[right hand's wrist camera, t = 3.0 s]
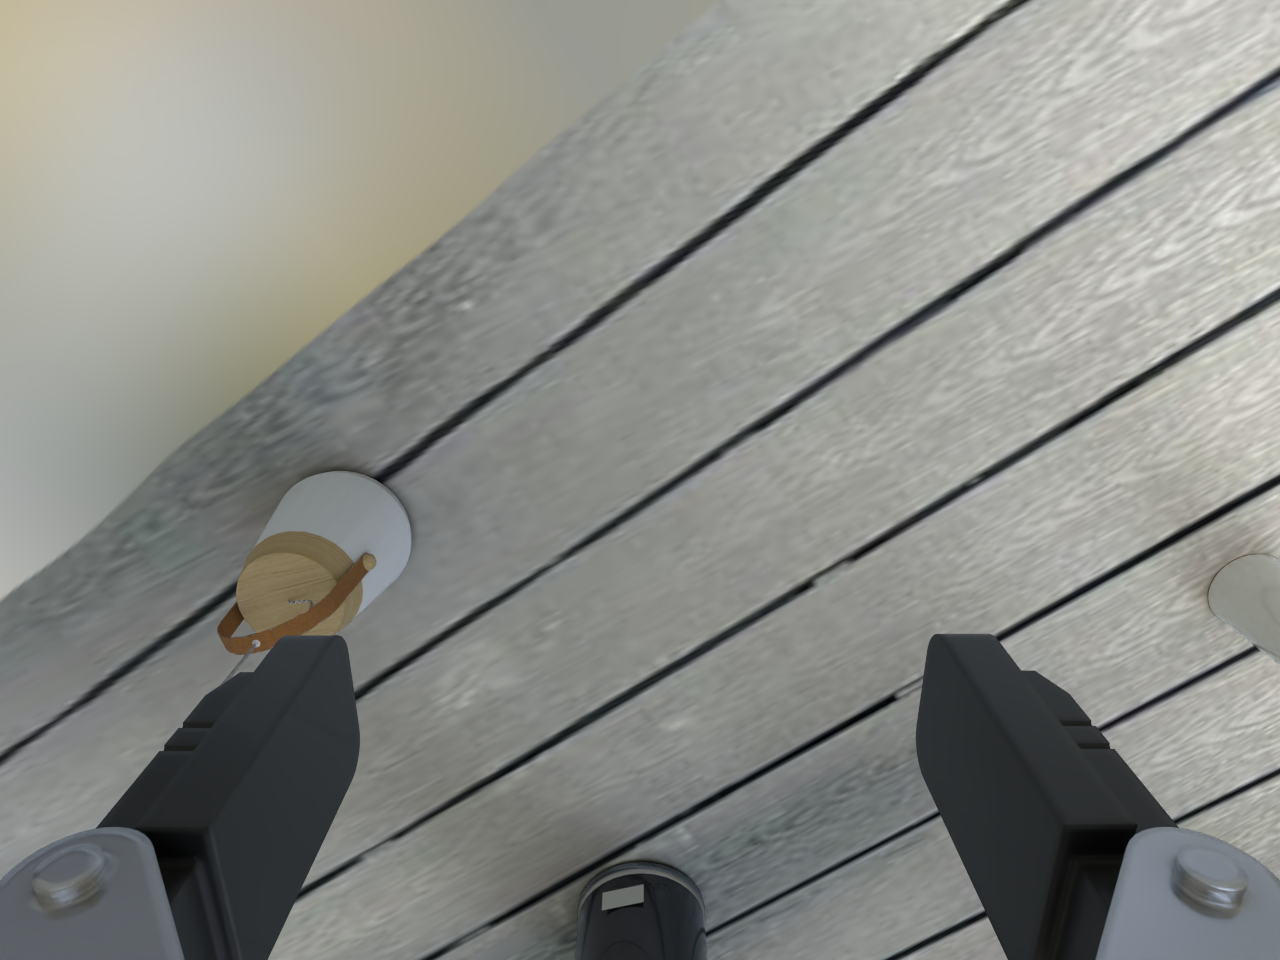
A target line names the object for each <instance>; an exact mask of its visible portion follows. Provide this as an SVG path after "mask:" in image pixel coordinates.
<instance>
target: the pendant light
mask: <svg viewBox="0 0 1280 960" xmlns="http://www.w3.org/2000/svg"><path fill="white" fill-rule="evenodd" d="M410 551H411V528H410V522H409V520H408V517H407V514H406V511H405V509H404V507H403V506H402V504H401V503H400V501H399V500H398V499H397V497H396V496H395V495H394V494H393V493H392V492H391V491H390V490H389V489H388V488H387V487H386V486H384V485H383V484H381V483H380V482H378V481H377V480H375V479H373V478H370V477H368V476H366V475H363V474H360V473H356V472H350V471H330V472H325V473H321V474H316V475H313V476H310V477H307V478H305V479H303V480H302V481H300V482H298V483H297V484H296V485H294V486H293V487H292V488H291V489H290V490H289V491H288V492H287V493H286V494H285V496H284V497H283V498H282V500H281V502H280V503H279V505H278V507H277V508H276V510H275V512H274V514H273V515H272V517H271V519H270V520H269V522H268V524H267V525H266V527H265V529H264V531H263V532H262V534H261V536H260V537H259V539H258V541H257V543H256V544H255V546H254V548H253V549H252V551H251V553H250V554H249V556H248V557H247V559H246V562H245V565H244V567H243V570H242V572H241V575H240V577H239V580H238V584H237V590H236V597H237V602H236V603H235V605H234V606H233V607H232V608H231V610H230V611H229V612H228V613H227V615H226V616H225V617H224V618H223V620H222V621H221V622H220V624H219V626H218V630H217V632H218V635H219V636H220V638H221V640H222V642H223V644H224V646H225V648H226V649H227V650H228V651H229V652H230V653H233V654H237V655H245V654H246V655H245V656H244V657H243V658H242V660H241V661H240V662H239V663H238V665H237V666H236V667H235V668H234V669H233V671H232V672H231V673H230V674H229V676H228V677H227V678H226V679H225V681H224V682H223V683H222V684H224V683H225V682H227V681H228V680H229V679H230V678H231V677H232V676H233V674H234V673H235V672H236V671H237V669H238V668H239V667H240V666H241V665H242V663H243V662H244V661H245V660H246V658H247V657H248V656H249V655H250V654H252V653H257V652H261V651H265V650H268V649H271V648H273V646H274V645H275V644H276V643H277V641H278V640H279V639H280V638H281V637H283V636H286V635H334V634H335V633H337V632H338V631H340V630H341V629H343V628H344V627H345V626H346V625H347V624H349V623H350V622H351V621H352V620H353V619H354V618H355V617H356V616H357V615H358V614H359V613H360V612H361V611H362V610H364V609H365V608H366V607H367V606H368V605H369V604H370V603H371V602H372V601H373V600H374V599H375V598H376V597H377V596H378V595H379V594H381V593H382V592H383V591H384V590H385V589H386V588H387V587H388V586H389V585H390V584H391V583H392V582H393V581H394V580H395V579H397V578H398V576H399V575H400V574H401V573H402V571H403V570H404V568H405V566H406V564H407V562H408V559H409V556H410ZM243 619H245V621H246V622H247V623H248V624H249V626H250V627H251V628H252V629H253V630H255V631H256V632H257V633H255V634H252V635H248V636H244V637H234V638H231V636H232V634H233V633H234V631H235V630H236V629H237V627H238V626H239V625H240V623H241V622H242V621H243ZM222 684H221V685H222ZM221 685H220V686H221Z"/></svg>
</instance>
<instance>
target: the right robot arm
mask: <svg viewBox="0 0 1280 960" xmlns="http://www.w3.org/2000/svg"><path fill="white" fill-rule="evenodd" d="M1109 744H1110V743H1109V742H1108V741H1107V739H1106V738H1105V737H1104V736H1103V735H1102V733H1101V732H1100V731H1099V730H1098V728H1097V727H1096V726H1092V725H1091V720H1090V719H1089V717H1088V716H1087V715H1086V714H1085V713H1084V711H1083V710H1082V709H1081V708H1080V706H1079V705H1078V704H1077V703H1076V702H1075V700H1074V699H1073V698H1072V697H1071V695H1070V694H1069V693H1067V692H1066V691H1064V690H1063V689H1061V688H1060V687H1058V686H1057V685H1055V684H1054V683H1052V682H1051V681H1049V680H1048V679H1046V678H1045V677H1043V676H1042V675H1040V674H1039V673H1037V672H1036V671H1021V670H1020V669H1019V667H1018V666H1017V665H1016V663H1015V662H1014V661H1013V659H1012V658H1011V657H1010V655H1009V654H1008V653H1007V651H1006V650H1005V649H1004V647H1003V646H1002V645H1001V644H1000V642H999V641H998V640H997V638H996V637H995V636H993V635H991V634H935V635H934V636H933V637H932V638H931V640H930V642H929V645H928V650H927V656H926V663H925V670H924V678H923V685H922V692H921V699H920V706H919V713H918V720H917V728H916V748H917V756H918V761H919V766H920V770H921V773H922V775H923V778H924V780H925V782H926V784H927V787H928V789H929V791H930V793H931V795H932V797H933V799H934V802H935V804H936V806H937V808H938V810H939V812H940V815H941V817H942V819H943V821H944V823H945V825H946V827H947V830H948V832H949V834H950V836H951V838H952V840H953V842H954V845H955V847H956V849H957V851H958V853H959V855H960V858H961V860H962V862H963V864H964V866H965V868H966V870H967V873H968V875H969V877H970V879H971V881H972V883H973V885H974V888H975V890H976V892H977V894H978V896H979V898H980V900H981V903H982V905H983V907H984V909H985V911H986V913H987V916H988V918H989V920H990V922H991V924H992V926H993V928H994V931H995V933H996V935H997V937H998V939H999V941H1000V943H1001V946H1002V948H1003V950H1004V952H1005V954H1006V956H1007V959H1008V960H1280V880H1279V879H1278V878H1277V877H1276V876H1275V875H1274V874H1273V873H1272V872H1271V871H1270V870H1269V869H1268V868H1266V867H1265V866H1264V865H1262V864H1261V863H1260V862H1259V861H1257V860H1256V859H1255V858H1253V857H1251V856H1250V855H1248V854H1247V853H1245V852H1244V851H1242V850H1240V849H1238V848H1236V847H1235V846H1233V845H1231V844H1229V843H1227V842H1224V841H1222V840H1220V839H1217V838H1215V837H1212V836H1209V835H1206V834H1204V833H1201V832H1197V831H1192V830H1188V829H1183V828H1178V826H1177V825H1176V824H1175V823H1174V821H1173V820H1172V819H1171V818H1170V817H1169V815H1168V814H1167V813H1166V812H1165V810H1164V809H1163V808H1162V807H1161V806H1160V804H1159V803H1158V802H1157V801H1156V799H1155V798H1154V797H1153V796H1152V795H1151V793H1150V792H1149V791H1148V790H1147V788H1146V787H1145V786H1144V785H1143V783H1142V782H1141V781H1140V780H1139V779H1138V777H1137V776H1136V775H1135V774H1134V772H1133V771H1132V770H1131V769H1130V768H1129V766H1128V765H1127V764H1126V763H1125V761H1124V760H1123V759H1122V758H1121V757H1120V755H1119V754H1118V753H1117V752H1116V750H1115V749H1110V745H1109ZM164 746H165V748H164V751H159V752H158V754H157V755H156V756H155V757H154V759H153V760H152V761H151V762H150V763H149V765H148V766H147V767H146V768H145V769H144V771H143V772H142V773H141V774H140V776H139V777H138V778H137V779H136V780H135V782H134V783H133V784H132V785H131V786H130V788H129V789H128V790H127V791H126V793H125V794H124V795H123V796H122V797H121V799H120V800H119V801H118V802H117V803H116V805H115V806H114V807H113V808H112V809H111V811H110V812H109V813H108V814H107V816H106V817H105V818H104V819H103V820H102V822H101V823H100V824H99V825H98V826H97V828H96V829H92V830H88V831H83V832H79V833H76V834H74V835H71V836H68V837H65V838H63V839H60V840H58V841H56V842H53V843H51V844H49V845H47V846H45V847H44V848H42V849H40V850H38V851H36V852H35V853H33V854H32V855H30V856H29V857H27V858H25V859H24V860H23V861H21V862H20V863H19V864H18V865H16V866H15V867H14V868H12V869H11V870H10V871H9V872H8V873H7V874H6V875H5V876H4V877H3V878H2V879H1V880H0V960H268V957H269V955H270V953H271V951H272V949H273V947H274V945H275V943H276V940H277V938H278V936H279V934H280V932H281V930H282V928H283V926H284V923H285V921H286V919H287V917H288V915H289V913H290V911H291V909H292V906H293V904H294V902H295V900H296V898H297V896H298V894H299V892H300V889H301V887H302V885H303V883H304V881H305V879H306V877H307V875H308V873H309V870H310V868H311V866H312V864H313V862H314V860H315V858H316V856H317V853H318V851H319V849H320V847H321V845H322V843H323V841H324V839H325V836H326V834H327V832H328V830H329V828H330V826H331V824H332V822H333V819H334V817H335V815H336V813H337V811H338V809H339V807H340V805H341V802H342V800H343V798H344V796H345V794H346V792H347V790H348V788H349V785H350V783H351V781H352V779H353V776H354V774H355V770H356V766H357V762H358V756H359V747H360V732H359V723H358V716H357V709H356V702H355V695H354V688H353V681H352V674H351V667H350V660H349V653H348V648H347V645H346V642H345V640H344V639H343V637H341V636H339V635H286V636H283V637H281V638H280V639H279V640H278V641H277V643H276V644H275V645H274V646H273V648H272V649H271V650H270V652H269V653H268V654H267V656H266V657H265V658H264V659H263V661H262V662H261V663H260V665H259V666H258V667H257V669H256V670H255V671H254V672H240V673H238V674H237V675H235V676H234V677H232V678H231V679H229V680H228V681H227V682H225V683H224V684H222V685H221V686H219V687H218V688H216V689H215V690H213V691H212V692H210V693H209V694H207V695H206V696H205V697H204V698H203V699H202V700H201V702H200V703H199V704H198V705H197V706H196V708H195V709H194V710H193V711H192V712H191V714H190V715H189V716H188V717H187V719H186V720H185V721H184V722H183V728H178V729H177V731H176V732H175V733H174V734H173V736H172V737H171V738H170V739H169V740H168V742H167V743H166V744H165V745H164ZM577 923H578V933H577V945H576V955H575V960H707V947H706V936H705V908H704V901H703V898H702V895H701V893H700V891H699V890H698V888H697V887H696V885H695V884H694V883H693V882H692V881H691V880H690V879H689V878H688V877H687V876H685V875H684V874H682V873H681V872H679V871H677V870H675V869H673V868H670V867H668V866H665V865H661V864H656V863H649V862H634V863H626V864H622V865H618V866H615V867H612V868H610V869H608V870H606V871H604V872H602V873H600V874H599V875H598V876H596V877H595V878H594V879H593V880H592V881H591V882H590V883H589V884H588V885H587V886H586V888H585V889H584V891H583V892H582V895H581V897H580V900H579V905H578V916H577Z"/></svg>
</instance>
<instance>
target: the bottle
mask: <svg viewBox="0 0 1280 960" xmlns="http://www.w3.org/2000/svg"><path fill="white" fill-rule="evenodd" d="M1208 601H1209V605H1210V608H1211V610H1212V612H1213V613H1214V614H1215V615H1216V616H1217V617H1218V618H1219V619H1221V620H1222V621H1223V622H1225V623H1226V624H1227V625H1228V626H1230V627H1231V628H1232V629H1234V630H1235V631H1236V632H1237V633H1239V634H1240V635H1241V636H1243V637H1244V638H1245V639H1246V640H1248V641H1249V642H1250V643H1252V644H1253V645H1254V646H1255V647H1257V648H1258V649H1259V650H1261V651H1262V652H1263V653H1264V654H1266V655H1267V656H1268V657H1270V658H1271V659H1272V660H1273V661H1275V662H1276V663H1277V664H1279V665H1280V561H1279V560H1278V559H1276V558H1274V557H1272V556H1268V555H1262V554H1254V555H1248V556H1244V557H1241V558H1238V559H1236V560H1234V561H1232V562H1230V563H1229V564H1228V565H1226V566H1225V567H1224V568H1223V569H1221V570H1220V572H1219V573H1218V574H1217V575H1216V576H1215V578H1214V579H1213V581H1212V583H1211V586H1210V589H1209V593H1208Z"/></svg>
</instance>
